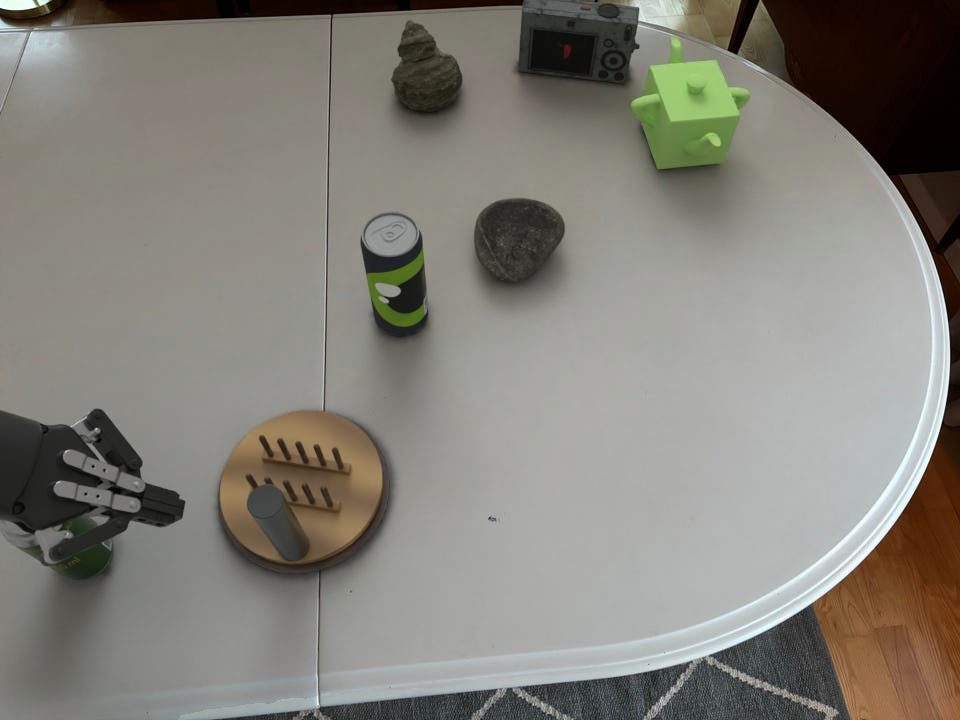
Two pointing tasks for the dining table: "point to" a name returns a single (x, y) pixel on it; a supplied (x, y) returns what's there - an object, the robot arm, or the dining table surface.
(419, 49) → the seashell
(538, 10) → the camera
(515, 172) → the dining table surface
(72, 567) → the beer can
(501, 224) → the stone
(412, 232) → the beverage can
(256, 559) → the base
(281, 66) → the dining table surface
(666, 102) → the teapot
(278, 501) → the dish rack
